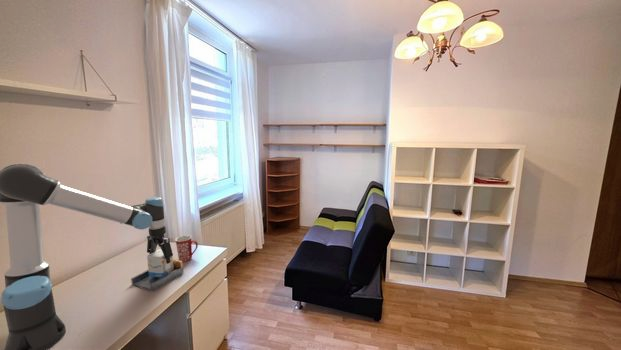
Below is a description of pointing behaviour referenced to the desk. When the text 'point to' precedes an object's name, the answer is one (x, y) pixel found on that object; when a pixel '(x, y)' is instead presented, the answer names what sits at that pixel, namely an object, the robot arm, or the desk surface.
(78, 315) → the desk surface
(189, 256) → the mug
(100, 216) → the robot arm
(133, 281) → the grey open box
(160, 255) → the ink box
